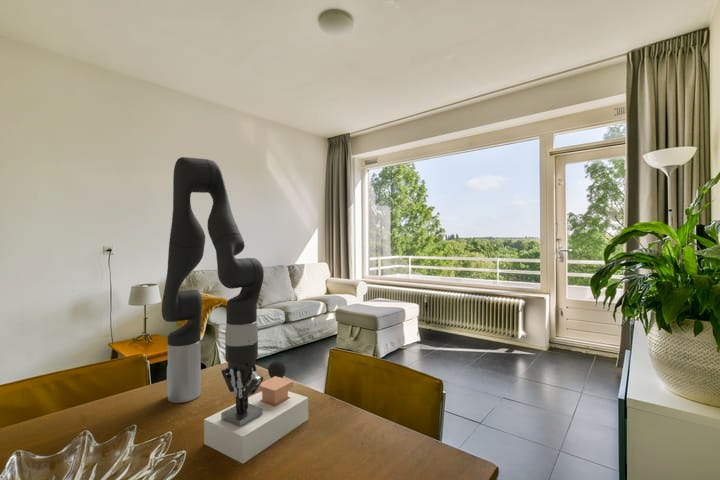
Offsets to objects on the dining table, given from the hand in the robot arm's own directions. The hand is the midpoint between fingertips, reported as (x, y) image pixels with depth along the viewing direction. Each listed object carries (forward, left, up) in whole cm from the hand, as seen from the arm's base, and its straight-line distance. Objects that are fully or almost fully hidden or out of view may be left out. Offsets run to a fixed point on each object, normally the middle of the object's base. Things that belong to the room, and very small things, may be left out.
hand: (242, 410), depth 84 cm
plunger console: (0, +6, -8) cm, 9 cm away
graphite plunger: (0, 0, -6) cm, 6 cm away
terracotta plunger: (0, +11, -4) cm, 12 cm away
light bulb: (-13, +25, -8) cm, 29 cm away
